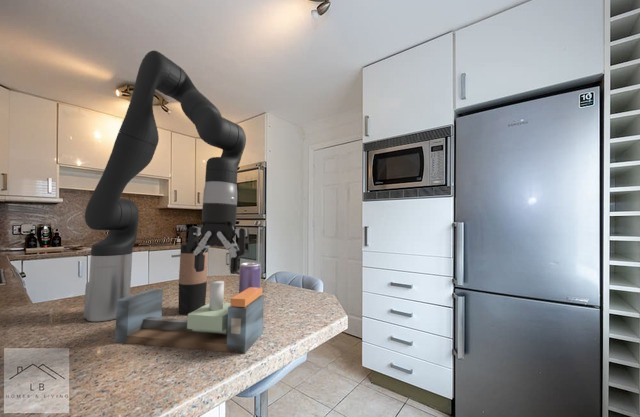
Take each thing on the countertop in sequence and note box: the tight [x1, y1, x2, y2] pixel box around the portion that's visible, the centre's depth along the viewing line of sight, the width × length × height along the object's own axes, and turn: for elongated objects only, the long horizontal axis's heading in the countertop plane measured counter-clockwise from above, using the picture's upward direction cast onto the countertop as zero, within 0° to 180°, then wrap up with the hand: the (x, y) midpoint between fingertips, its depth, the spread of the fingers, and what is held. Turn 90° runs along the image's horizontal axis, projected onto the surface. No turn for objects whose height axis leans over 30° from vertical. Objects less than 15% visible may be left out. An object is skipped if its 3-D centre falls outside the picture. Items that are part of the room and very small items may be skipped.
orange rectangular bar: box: [230, 287, 263, 307], centre depth 58 cm, size 3×10×2 cm, turn 172°
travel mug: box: [177, 242, 209, 316], centre depth 77 cm, size 8×8×20 cm
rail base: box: [114, 288, 265, 354], centre depth 59 cm, size 30×10×9 cm, turn 82°
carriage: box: [186, 280, 231, 333], centre depth 59 cm, size 8×9×10 cm
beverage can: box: [238, 262, 262, 294], centre depth 72 cm, size 6×6×15 cm
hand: (216, 272), depth 59 cm, fingers open, 8 cm apart
